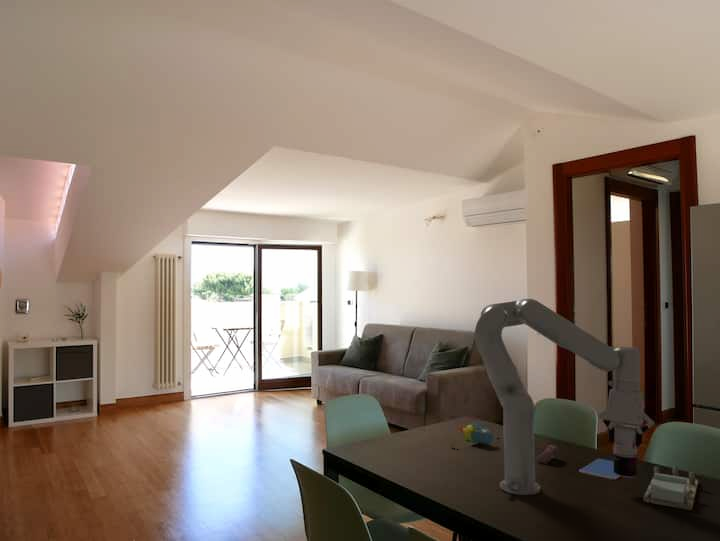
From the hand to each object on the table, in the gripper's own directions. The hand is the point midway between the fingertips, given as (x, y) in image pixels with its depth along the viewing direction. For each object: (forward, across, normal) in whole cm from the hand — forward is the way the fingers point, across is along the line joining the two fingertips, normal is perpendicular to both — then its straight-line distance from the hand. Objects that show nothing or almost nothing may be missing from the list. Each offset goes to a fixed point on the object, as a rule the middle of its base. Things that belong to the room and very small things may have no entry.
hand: (625, 443), depth 170 cm
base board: (+15, +12, +9) cm, 21 cm away
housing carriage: (+14, +12, +1) cm, 18 cm away
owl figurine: (+18, -62, +28) cm, 70 cm away
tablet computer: (+16, -9, +22) cm, 29 cm away
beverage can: (+10, 0, 0) cm, 10 cm away
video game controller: (+17, -30, +21) cm, 40 cm away
